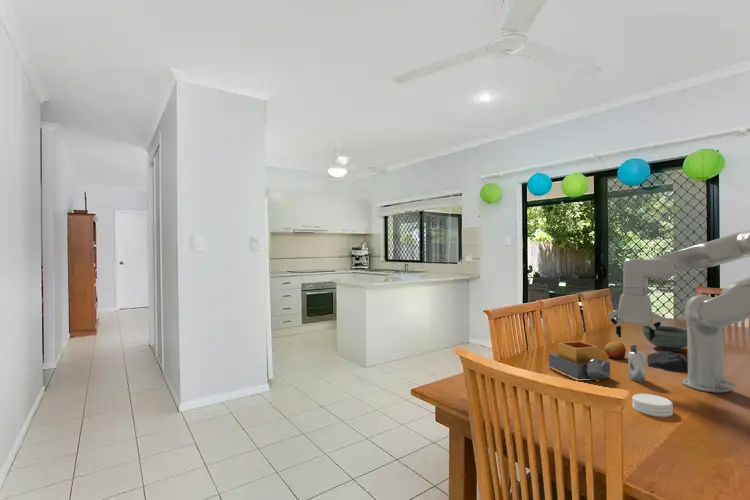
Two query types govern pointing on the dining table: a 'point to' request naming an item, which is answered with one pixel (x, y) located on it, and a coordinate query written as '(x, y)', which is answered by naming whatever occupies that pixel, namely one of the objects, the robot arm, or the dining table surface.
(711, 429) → the dining table surface
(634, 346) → the spout can
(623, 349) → the fruit
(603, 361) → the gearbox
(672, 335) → the bowl
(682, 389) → the dining table surface
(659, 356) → the dark slate chunk
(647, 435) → the dining table surface
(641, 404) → the coaster
